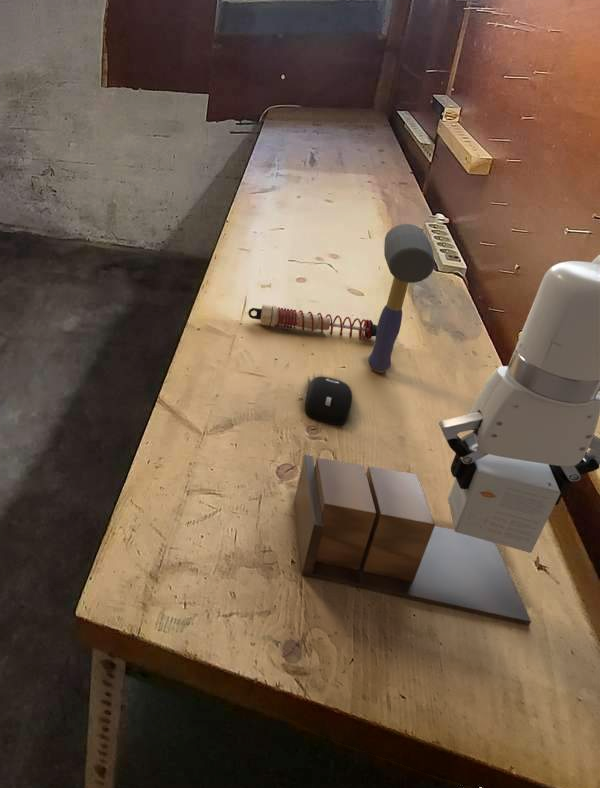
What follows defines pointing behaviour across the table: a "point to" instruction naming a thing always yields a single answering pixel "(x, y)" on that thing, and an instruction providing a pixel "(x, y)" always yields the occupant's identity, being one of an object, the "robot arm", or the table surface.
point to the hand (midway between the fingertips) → (502, 487)
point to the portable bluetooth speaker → (328, 400)
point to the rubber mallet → (400, 285)
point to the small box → (505, 501)
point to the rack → (395, 542)
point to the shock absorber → (309, 321)
